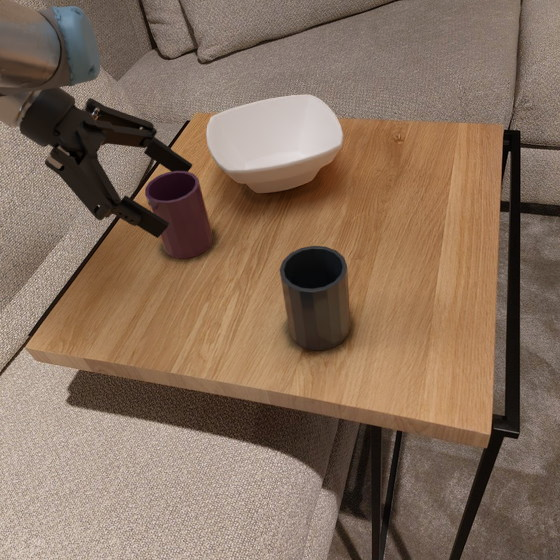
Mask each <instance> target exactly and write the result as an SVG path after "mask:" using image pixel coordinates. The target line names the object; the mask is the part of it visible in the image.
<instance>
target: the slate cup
mask: <svg viewBox="0 0 560 560" xmlns="http://www.w3.org/2000/svg"><path fill="white" fill-rule="evenodd" d="M279 277H280V283H281V289H282V294H283V301H284V306H285V312H286V318H287V324H288V330H289V335H290V338H291V339H292V340H293V341H294V342H295V343H296V344H297V345H298V346H299V347H301V348H304V349H305V350H310V351H317V352H320V351H321V352H322V351H327V350H330V349H334V348H335V347H337V346H339V345H340V344H342V342H344V341H345V340H346V338H347V337H348V335H349V334H350V330H351V312H350V310H351V309H350V290H349V272H348V263H347V261H346V258H345V256H344V255H342V253H340V252H339V251H338V250H336V249H334V248H331V247H329V246H325V245H324V246H323V245H309V246H304V247H300V248H298V249H296V250H293V251H292V252H290V253H288V255H286V257H284V259H283V260H282V262H281V265H280V267H279Z"/></svg>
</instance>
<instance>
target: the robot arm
mask: <svg viewBox="0 0 560 560" xmlns="http://www.w3.org/2000/svg"><path fill="white" fill-rule="evenodd" d="M91 23H92V22H91V21H90V18H89V17H88V15H87V14H86V13H85V11H84V10H83V9H82V8H80V7H79V6H76V5H67V6H58V7H57V6H55V5H52V6H50V7H49V8H45V9H37V10H36V9H33V8H31V7H29V6H26V5H24V4H21V3H19V2H16V1H14V0H0V122H1V123H3V124H4V125H7V126H8V127H9V128H11V129H14V128H17V127H18V128H19V129H18V130H19V132H20V134H21V135H22V136H24V137H26V138H27V139H29V140H31V141H32V142H34V143H35V144H37V145H39V146H40V147H42V148H45V147H48V146H51V147H52V148H51V150H50V152H49V153H48V155H47V157H46V159H45V160H44V165H45V166H46V167H47V168H48V169H50V170H51V171H52V172H54V173H55V174H56V175H58V176H59V177H60V178H61V179H62V181H63V182H64V183H65V184H66V185H67V187H68V188H69V189H70V190H71V191H72V192H73V193H74V195H75V196H76V197H77V199H78V200H80V201H81V203H82V204H83V205H84V206H85V208H86V209H87V210H88V211H89V212H90V213H91V215H92V216H93V217H94V218H95V219H96V220H98V221H103V220H104V218H106V219H108V218H110V217H111V216H112V215H114V216H115V217H117V218H119V219H121V220H122V221H124V222H125V223H127V224H128V225H131V226H133V227H136V226H137V227H139V228H140V229H142V230H143V231H145V232H147V233H148V234H149V235H151V236H153V237H155V238H156V239H158V238H160V237H159V236H160V235H161V234H162V233H163V232H164V231H165V229H166V228H167V227H168V225H169V223H168V222H167V221H165V220H164V219H162V218H161V217H159V216H157V215H156V214H154V213H153V212H151V210H150V209H148V208H146V207H145V206H143V205H142V204H140V203H138V201H135V200H134V199H132V198H131V197H129V196H127V195H124V196H123V197H122V198H121V197H120V194H119V193H118V192H117V190H116V188H115V187H114V185H113V183H112V181H111V179H110V177H109V176H108V174H107V172H106V171H105V169H104V168H103V166H102V163H101V162H100V161H99V154H98V152H99V151H100V148H101V147H102V146H105V145H107V144H108V145H116V146H123V147H125V146H126V147H133V148H142V149H145V150H144V152H143V154H144V155H146V156H147V157H149V158H150V159H152V160H154V161H155V162H156V163H158V164H159V165H161V166H162V167H164V168H165V169H167V170H168V171H169V172H173V171H187V172H190V170H191V169H192V167H193V165H194V164H193V163H191V162H190V161H189V160H187V159H186V158H184V157H183V156H182V155H180V154H178V153H177V152H176V151H174V150H173V149H172V148H171V147H170V146H169V145H167V144H165V143H164V142H163V141H161V140H160V139H158V138H156V137H155V136H156V135H157V134H158V130H157V129H156V127H155V125H154V123H152V122H151V121H149V120H146V119H143V118H140V117H138V116H134V115H131V114H129V113H126V112H123V111H120V110H117V109H115V108H112V107H109V106H106V105H104V104H102V103H101V102H99V101H97V100H96V99H94V98H91V97H89V98H87V100H86V102H85V103H84V105H83V107H82V109H81V108H78V107H77V106H76V105H75V104H76V99H75V97H74V96H73V95H71V94H70V93H68V92H67V91H65V90H64V89H62V88H64V87H75V85H78V84H83V83H87V82H92V81H94V80H96V79H97V78H98V77H99V75H100V72H101V55H100V51H99V45H98V42H97V38H96V35H95V30H94V29H93V26H92V24H91Z"/></svg>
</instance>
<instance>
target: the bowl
mask: <svg viewBox="0 0 560 560" xmlns="http://www.w3.org/2000/svg"><path fill="white" fill-rule="evenodd" d="M344 137H345V135H344V131H343V128H342V125H341V122H340V120H339V118H338V116H337V115H336V114H335V112H334V111H333V110H332V109H331V108H330V106H329V105H327V103H325V102H324V101H323V100H322V99H320V98H318V97H317V96H315V95H313V94H292V95H291V94H290V95H285V96H277V97H271V98H266V99H261V100H257V101H251V102H249V103H244V104H241V105H238V106H234V107H232V108H228V109H225V110H223V111H220V112H218V113H216V114H214V115H211V117H210V119H209V121H208V123H207V126H206V132H205V138H206V145H207V149H208V152H209V154H210V156H211V158H212V160H213V161H214V163H215V164H216V166H217V167H218V168H219V169H220V170H221V171H223V172H224V173H225V174H226V175H227V176H228V177H229V178H231V179H232V180H233V181H234V182H236V183H237V184H245V185H246V186H247V187H248V188H249V189H250V190H252V191H253V192H254V193H255V194H268V193H277V192H282V191H287V190H291V189H295V188H297V187H300V186H303V185H305V184H308V183H310V182H312V181H313V180H314V179H315V178H316V176H317V174H318V173H319V171H320V170H321V168H323V167H325V166H327V165H329V164H330V163H332V162H333V161H334V159H335V158H336V156H337V155H338V153H339V152H340V150H341V149H342V148H343V145H344V144H343V143H344Z"/></svg>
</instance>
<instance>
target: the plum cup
mask: <svg viewBox="0 0 560 560" xmlns="http://www.w3.org/2000/svg"><path fill="white" fill-rule="evenodd" d="M144 195H145V198H146V201H147V205H148V207H149V211H151V212H153V213H154V214H156V215H157V216H159V217H161V218H162V219H164V220H165V221H167V222H168V223H169V225H168V227H167V228H166V229H165V231H164V232H163V233H162V234H161V235H160V236H159V237H158V238H159V240H160V242H161V245H162V248H163V250H164V252H165V253H166V254H167V255H168V256H170V257H172V258H175V259H182V260H183V259H190V258H194V257H197V256H200V255H201V254H203V253H205V252H206V251H207V250H209V248H210V247H211V246H212V244H213V241H214V235H213V229H212V225H211V222H210V218H209V214H208V211H207V206H206V203H205V198H204V194H203V191H202V188H201V183H200V180H199V177H197V176H196V174H195V173H193V172H190V171H188V172H187V171H173V172H171V171H167V172H164V173H162V174H159V175H157V176H156V177H154V178H153V179H151V180H150V181H149V182H148V183H147V185H146V186H145V190H144Z"/></svg>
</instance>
